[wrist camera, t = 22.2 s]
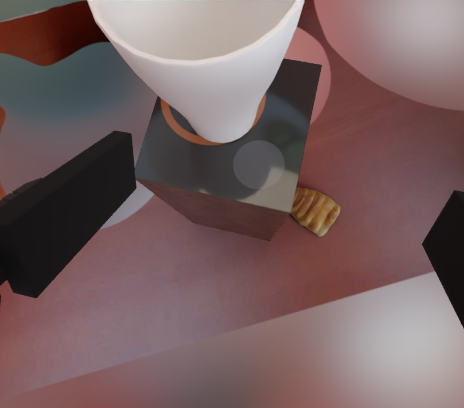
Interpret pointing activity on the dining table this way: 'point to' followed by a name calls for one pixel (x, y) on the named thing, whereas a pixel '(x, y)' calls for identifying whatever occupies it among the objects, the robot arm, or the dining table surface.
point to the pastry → (314, 210)
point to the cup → (203, 54)
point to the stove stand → (220, 211)
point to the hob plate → (238, 146)
